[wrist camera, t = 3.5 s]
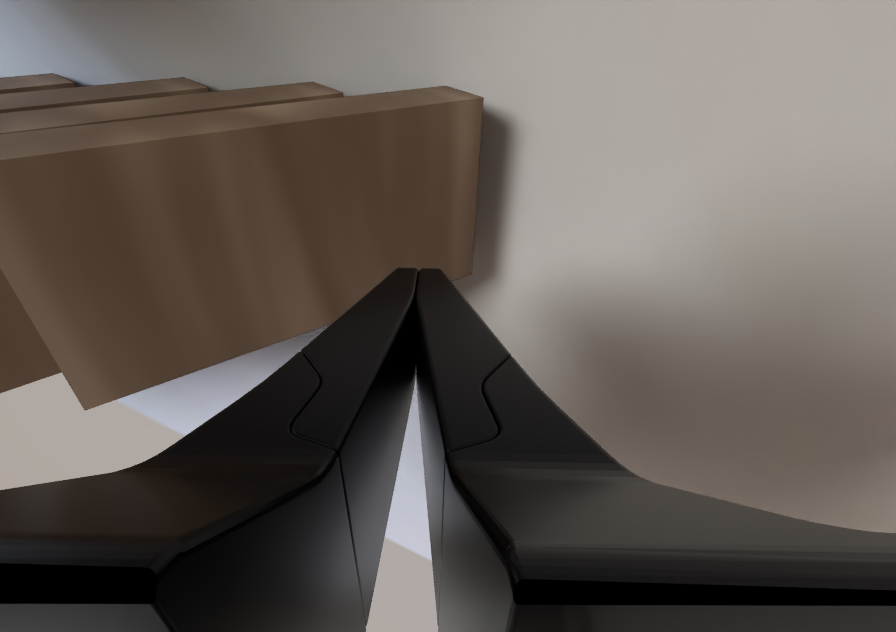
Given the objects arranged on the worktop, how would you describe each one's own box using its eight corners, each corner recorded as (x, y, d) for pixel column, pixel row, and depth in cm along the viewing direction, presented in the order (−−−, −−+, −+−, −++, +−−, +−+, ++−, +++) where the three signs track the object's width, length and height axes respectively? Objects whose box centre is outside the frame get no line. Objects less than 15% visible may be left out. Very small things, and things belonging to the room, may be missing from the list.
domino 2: (483, 97, 12) (-60, 167, 7) (471, 274, 15) (85, 410, 10) (445, 86, 13) (-50, 140, 8) (441, 252, 16) (78, 366, 11)
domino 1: (342, 92, 12) (-317, 170, 6) (359, 270, 15) (-88, 423, 9) (312, 81, 13) (-281, 141, 7) (333, 249, 16) (-83, 377, 10)
